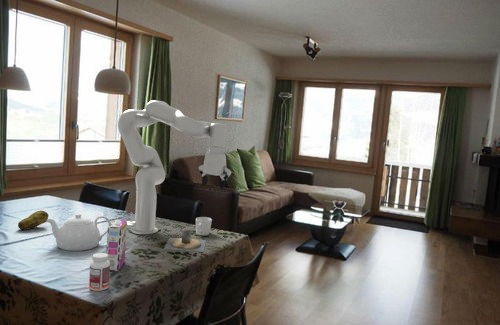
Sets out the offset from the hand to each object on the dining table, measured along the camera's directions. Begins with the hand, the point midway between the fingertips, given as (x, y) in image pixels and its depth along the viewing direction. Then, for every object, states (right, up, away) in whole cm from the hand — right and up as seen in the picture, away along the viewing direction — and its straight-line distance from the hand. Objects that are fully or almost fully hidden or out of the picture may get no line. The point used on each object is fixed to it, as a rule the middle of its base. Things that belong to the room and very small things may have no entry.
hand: (213, 186), depth 193 cm
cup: (-7, -25, +12) cm, 29 cm away
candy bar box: (-33, -28, -37) cm, 57 cm away
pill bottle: (-32, -30, -57) cm, 72 cm away
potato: (-84, -20, +1) cm, 86 cm away
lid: (-12, -26, -6) cm, 29 cm away
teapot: (-55, -24, -17) cm, 63 cm away
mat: (-12, -26, -6) cm, 29 cm away
